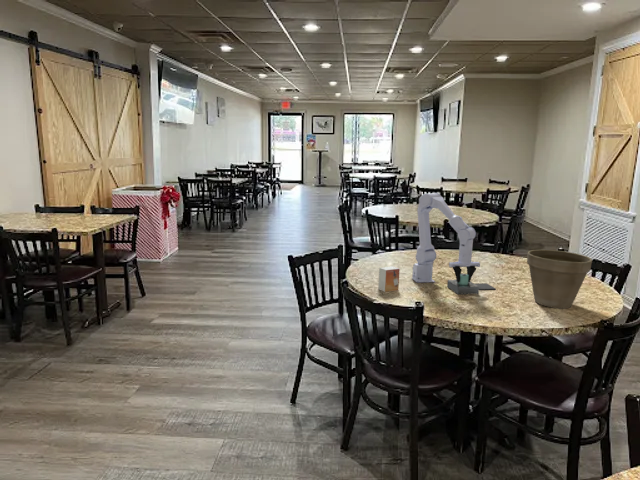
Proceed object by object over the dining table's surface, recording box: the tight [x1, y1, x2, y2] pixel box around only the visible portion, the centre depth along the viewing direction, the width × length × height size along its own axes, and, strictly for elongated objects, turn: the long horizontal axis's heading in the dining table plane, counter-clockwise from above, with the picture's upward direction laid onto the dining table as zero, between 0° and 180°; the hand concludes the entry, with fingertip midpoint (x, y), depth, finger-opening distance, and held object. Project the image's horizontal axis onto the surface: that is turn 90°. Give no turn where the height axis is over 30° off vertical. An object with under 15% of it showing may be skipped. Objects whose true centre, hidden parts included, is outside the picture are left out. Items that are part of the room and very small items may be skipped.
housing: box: [446, 279, 480, 295], centre depth 226 cm, size 10×12×4 cm
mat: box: [475, 282, 496, 291], centre depth 232 cm, size 9×9×1 cm
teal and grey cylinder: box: [458, 273, 469, 285], centre depth 226 cm, size 4×4×8 cm
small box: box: [377, 265, 401, 293], centre depth 224 cm, size 8×6×10 cm
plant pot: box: [526, 249, 593, 309], centre depth 208 cm, size 25×25×22 cm
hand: (463, 281), depth 225 cm, fingers closed on teal and grey cylinder, 4 cm apart
